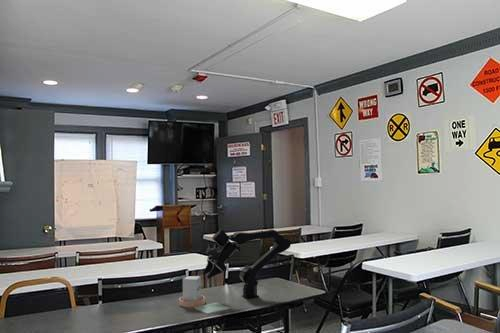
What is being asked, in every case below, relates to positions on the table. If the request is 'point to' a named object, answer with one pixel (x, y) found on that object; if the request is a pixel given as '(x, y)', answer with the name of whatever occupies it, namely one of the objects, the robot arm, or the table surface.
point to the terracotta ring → (192, 302)
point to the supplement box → (192, 288)
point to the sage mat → (211, 308)
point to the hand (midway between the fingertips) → (205, 276)
